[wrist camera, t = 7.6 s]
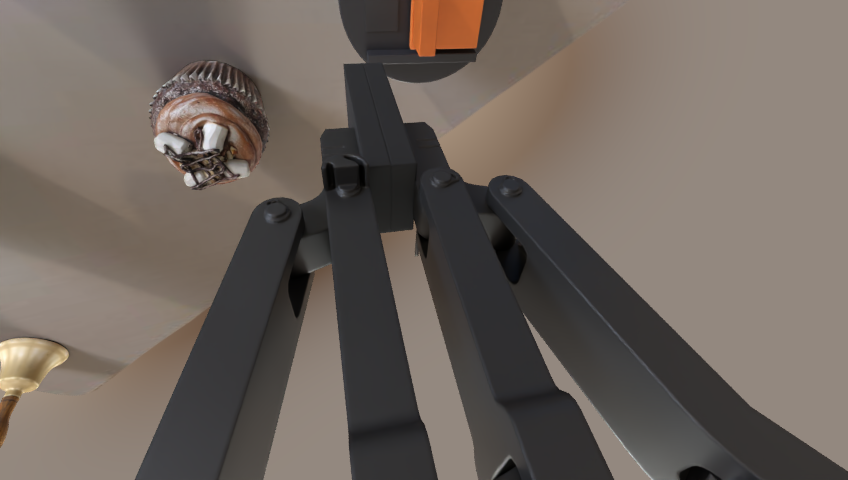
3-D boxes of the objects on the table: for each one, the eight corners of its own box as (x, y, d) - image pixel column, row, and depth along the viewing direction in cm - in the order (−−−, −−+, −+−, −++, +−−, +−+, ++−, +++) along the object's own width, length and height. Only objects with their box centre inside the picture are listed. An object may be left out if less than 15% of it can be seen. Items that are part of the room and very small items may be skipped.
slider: (409, 46, 26) (416, 63, 24) (412, -43, 22) (421, -30, 21) (474, 45, 27) (486, 61, 25) (487, -41, 23) (502, -28, 22)
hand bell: (-14, 357, 59) (-80, 478, 49) (9, 331, 56) (-56, 453, 46) (55, 369, 65) (9, 480, 54) (79, 346, 62) (35, 459, 52)
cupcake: (291, 119, 42) (290, 179, 36) (212, 156, 44) (197, 221, 37) (227, 31, 35) (212, 86, 29) (135, 78, 37) (100, 141, 30)
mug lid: (344, 80, 28) (346, 92, 27) (329, -115, 21) (330, -109, 19) (484, 76, 30) (492, 87, 29) (516, -104, 22) (528, -99, 21)
